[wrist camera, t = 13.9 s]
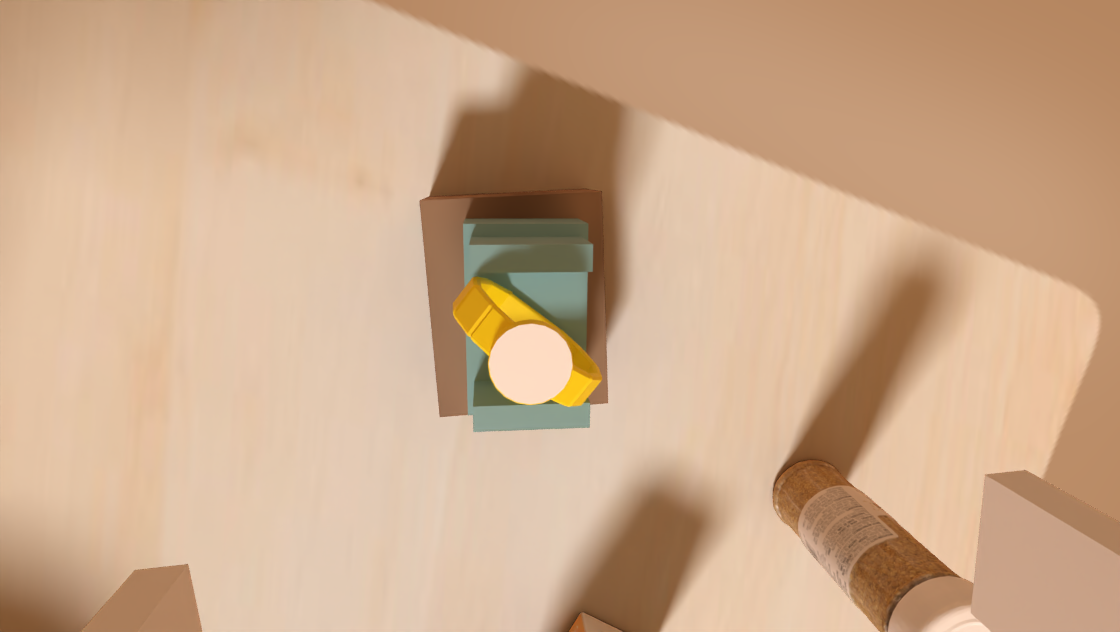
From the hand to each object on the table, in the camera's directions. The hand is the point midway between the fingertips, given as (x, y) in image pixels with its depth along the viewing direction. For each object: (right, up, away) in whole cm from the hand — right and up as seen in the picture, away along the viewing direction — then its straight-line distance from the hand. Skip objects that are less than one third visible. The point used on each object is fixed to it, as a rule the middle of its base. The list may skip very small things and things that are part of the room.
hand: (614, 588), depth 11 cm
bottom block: (-3, +6, +24) cm, 24 cm away
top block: (-3, +5, +19) cm, 19 cm away
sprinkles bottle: (+14, -6, +28) cm, 32 cm away
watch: (-2, +4, +16) cm, 17 cm away
